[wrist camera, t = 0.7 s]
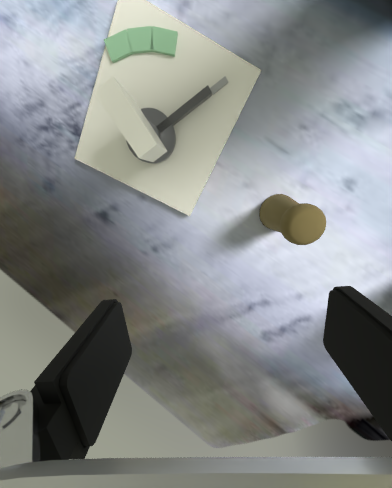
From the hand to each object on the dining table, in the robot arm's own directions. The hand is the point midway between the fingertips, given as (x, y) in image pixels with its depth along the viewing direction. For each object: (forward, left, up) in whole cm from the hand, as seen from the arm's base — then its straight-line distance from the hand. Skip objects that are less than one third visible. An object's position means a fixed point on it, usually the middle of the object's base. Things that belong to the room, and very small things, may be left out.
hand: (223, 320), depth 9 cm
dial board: (-10, -13, -27) cm, 32 cm away
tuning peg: (-9, -11, -25) cm, 29 cm away
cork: (-6, +10, -27) cm, 30 cm away
